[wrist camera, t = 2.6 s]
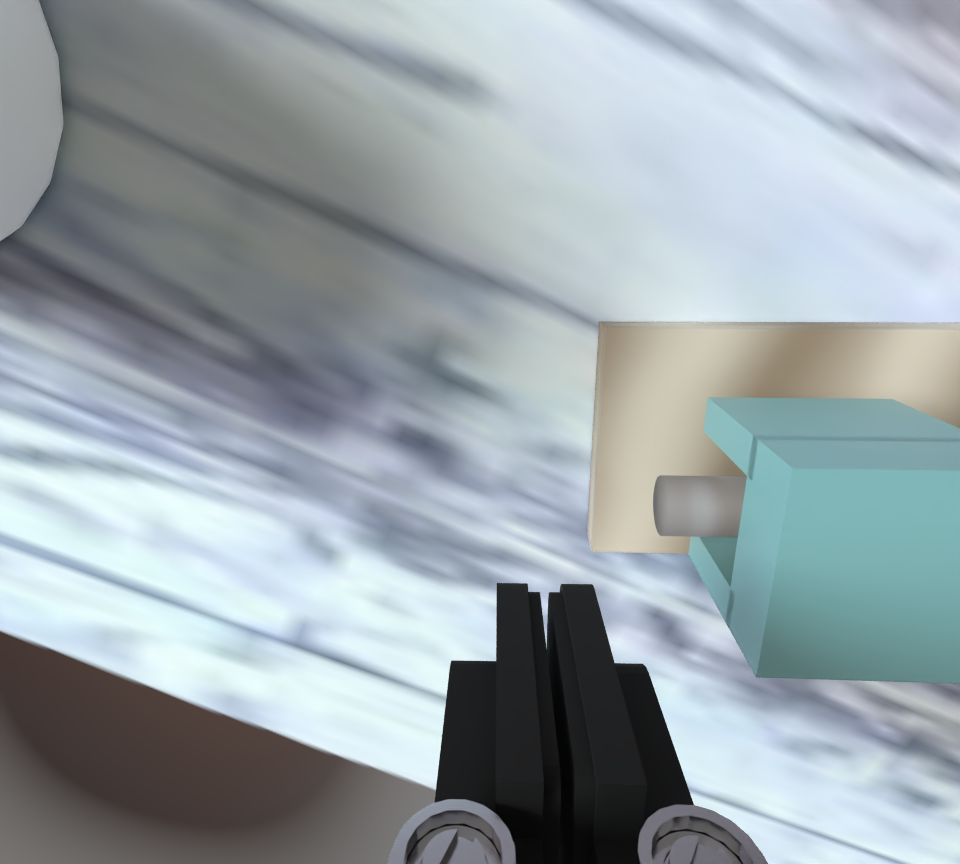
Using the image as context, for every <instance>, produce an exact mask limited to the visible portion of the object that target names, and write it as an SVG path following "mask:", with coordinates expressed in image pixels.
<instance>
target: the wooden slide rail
mask: <svg viewBox="0 0 960 864" xmlns="http://www.w3.org/2000/svg"><path fill="white" fill-rule="evenodd" d="M708 397H727V398H848V399H893V400H895V401H898V402H900V403H902V404H905V405H907V406H909V407H912V408H914V409H916V410H918V411H921V412H923V413H925V414H928V415H930V416H932V417H935V418H937V419H939V420H941V421H944V422H946V423H948V424H951V425H953V426H955V427H957V428H960V323H856V322H599V337H598V354H597V371H596V388H595V405H594V422H593V439H592V456H591V473H590V489H589V506H588V523H587V534H588V538H589V542H590V545H591V549H592V552H633V553H681V554H689V546H690V538H691V537H738V533H739V527H740V520H741V513H742V507H743V500H744V493H745V487H746V480H747V475H746V474H745V473H744V472H743V471H742V470H741V469H740V468H739V467H738V466H737V465H736V464H735V463H734V462H733V461H732V460H731V459H730V458H729V457H728V456H727V455H726V454H725V453H724V452H723V451H722V450H721V449H720V448H719V447H718V446H717V445H716V444H715V443H714V442H713V441H712V439H711V438H710V437H709V436H708V435H707V434H706V433H705V432H704V422H705V414H706V406H707V398H708Z"/></svg>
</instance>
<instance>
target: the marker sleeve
mask: <svg viewBox="0 0 960 864" xmlns="http://www.w3.org/2000/svg"><path fill="white" fill-rule="evenodd" d="M704 432H705V433H706V434H707V435H708V436H709V437H710V438H711V439H712V441H713V442H714V443H715V444H716V445H717V446H718V447H719V448H720V449H721V450H722V451H723V452H724V453H725V454H726V455H727V456H728V457H729V458H730V459H731V460H732V461H733V462H734V463H735V464H736V465H737V466H738V467H739V468H740V469H741V470H742V471H743V472H744V473H745V474H746V475H747V480H746V487H745V493H744V500H743V507H742V513H741V520H740V527H739V533H738V537H691V538H690V546H689V554H688V555H689V557H690V559H691V560H692V562H693V564H694V566H695V568H696V569H697V571H698V573H699V575H700V577H701V579H702V580H703V582H704V584H705V586H706V588H707V589H708V591H709V593H710V595H711V597H712V598H713V600H714V602H715V604H716V606H717V607H718V609H719V611H720V613H721V615H722V616H723V618H724V620H725V622H726V624H727V626H728V627H729V629H730V631H731V633H732V635H733V636H734V638H735V640H736V642H737V644H738V645H739V647H740V649H741V651H742V653H743V654H744V656H745V658H746V660H747V662H748V663H749V665H750V667H751V669H752V671H753V673H754V674H755V676H756V677H762V678H796V679H829V680H862V681H895V682H929V683H960V428H957V427H955V426H953V425H951V424H948V423H946V422H944V421H941V420H939V419H937V418H935V417H932V416H930V415H928V414H925V413H923V412H921V411H918V410H916V409H914V408H912V407H909V406H907V405H905V404H902V403H900V402H898V401H895V400H893V399H848V398H727V397H708V398H707V406H706V414H705V422H704Z"/></svg>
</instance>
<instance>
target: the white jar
mask: <svg viewBox="0 0 960 864" xmlns="http://www.w3.org/2000/svg"><path fill="white" fill-rule="evenodd" d="M63 125H64V124H63V111H62V97H61V84H60V71H59V58H58V55H57V52H56V49H55V46H54V43H53V40H52V37H51V34H50V31H49V29H48V26H47V23H46V20H45V17H44V14H43V11H42V8H41V5H40V2H39V0H0V241H1V240H3V239H4V238H6V237H7V236H9V235H10V234H12V233H13V232H15V231H16V230H17V229H19V228H20V227H21V226H22V225H23V224H24V222H25V221H26V219H27V218H28V216H29V215H30V213H31V212H32V210H33V208H34V207H35V205H36V204H37V202H38V201H39V199H40V198H41V196H42V195H43V193H44V192H45V190H46V189H47V187H48V185H49V184H50V182H51V178H52V174H53V170H54V165H55V161H56V156H57V152H58V147H59V143H60V138H61V134H62V130H63Z"/></svg>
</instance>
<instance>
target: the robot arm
mask: <svg viewBox="0 0 960 864" xmlns="http://www.w3.org/2000/svg"><path fill="white" fill-rule="evenodd" d="M387 864H768V863H767V861H766V859H765V858H764V856H763V854H762V853H761V851H760V850H759V849H758V847H757V846H756V845H755V843H754V842H753V841H752V839H751V838H750V837H749V836H748V835H747V834H746V833H745V832H744V831H743V830H741V829H740V828H739V827H738V826H737V825H736V824H735V823H733V822H732V821H731V820H729V819H727V818H725V817H723V816H722V815H720V814H718V813H716V812H714V811H712V810H709V809H705V808H702V807H699V806H695V805H694V804H693V801H692V798H691V795H690V792H689V789H688V786H687V784H686V781H685V778H684V775H683V772H682V769H681V766H680V763H679V760H678V757H677V754H676V751H675V749H674V746H673V743H672V740H671V737H670V734H669V731H668V728H667V725H666V722H665V719H664V716H663V714H662V711H661V708H660V705H659V702H658V699H657V696H656V693H655V690H654V687H653V684H652V681H651V679H650V676H649V673H648V671H647V668H646V667H645V666H644V665H643V664H621V663H614V660H613V656H612V652H611V649H610V645H609V641H608V638H607V634H606V630H605V626H604V623H603V619H602V615H601V612H600V608H599V604H598V601H597V597H596V593H595V589H594V587H593V585H592V584H561V587H560V592H549V598H548V623H547V650H546V641H545V633H544V624H543V615H542V607H541V598H540V592H528V584H518V583H497V647H496V661H451V665H450V672H449V681H448V690H447V699H446V707H445V716H444V725H443V734H442V743H441V751H440V760H439V769H438V778H437V787H436V797H435V803H432V804H430V805H428V806H427V807H425V808H423V809H421V810H420V811H418V812H416V813H415V814H414V815H413V816H412V817H411V818H410V819H409V820H408V822H407V823H405V825H404V826H403V827H402V828H401V830H400V832H399V834H398V836H397V838H396V841H395V842H394V844H393V847H392V851H391V854H390V856H389V859H388V863H387Z"/></svg>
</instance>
